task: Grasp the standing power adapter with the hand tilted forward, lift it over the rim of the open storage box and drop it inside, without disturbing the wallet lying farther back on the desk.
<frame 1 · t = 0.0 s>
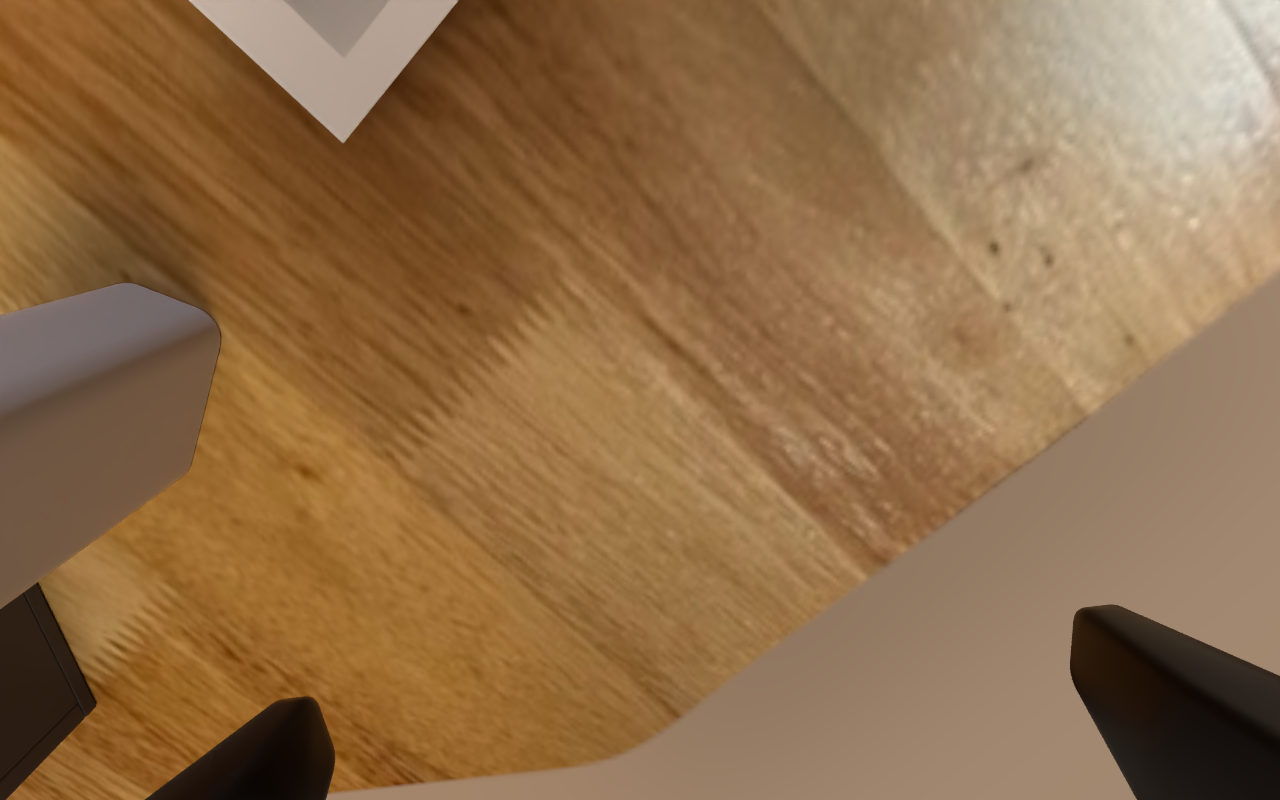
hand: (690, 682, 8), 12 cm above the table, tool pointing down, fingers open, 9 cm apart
power adapter: (153, 383, 20), on the table
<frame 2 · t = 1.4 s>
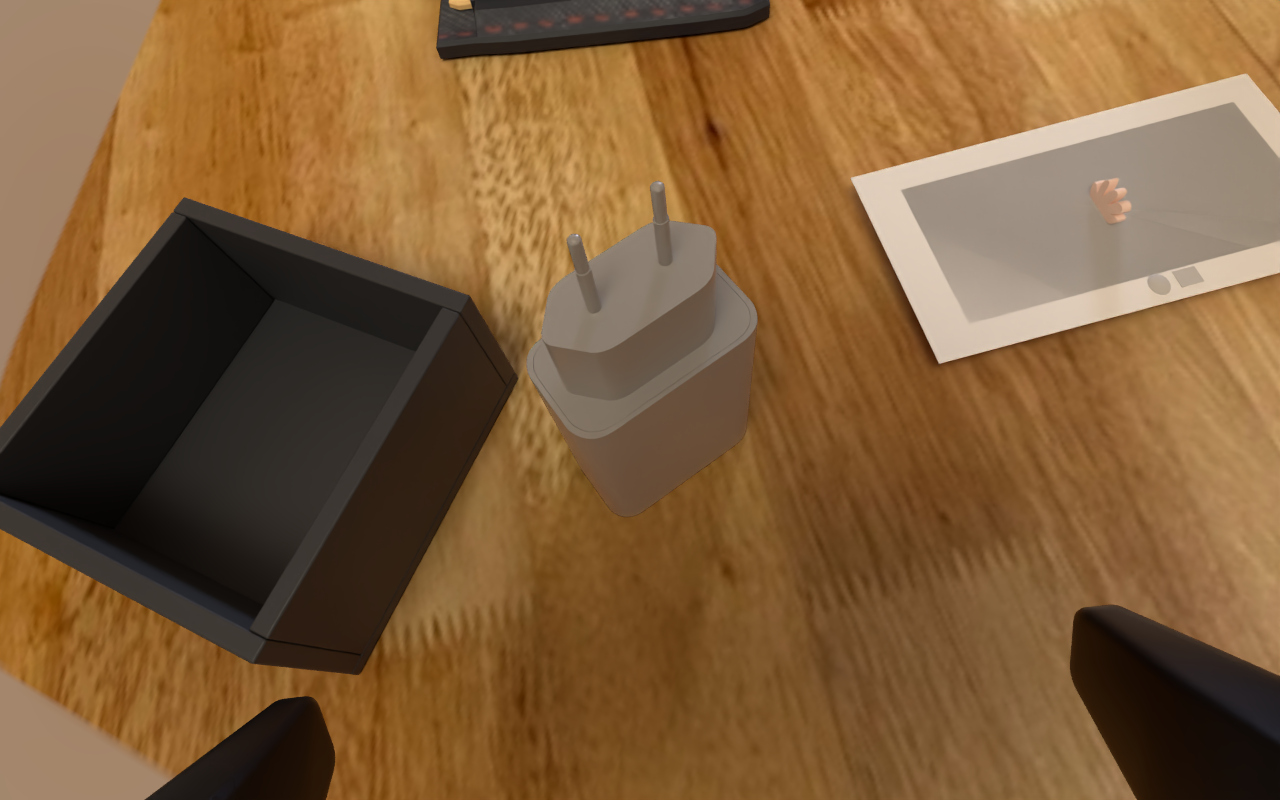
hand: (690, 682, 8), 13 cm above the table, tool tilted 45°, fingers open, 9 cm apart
open storage box: (314, 458, 25), on the table
power adapter: (662, 443, 24), on the table
touchpad: (1085, 231, 26), on the table
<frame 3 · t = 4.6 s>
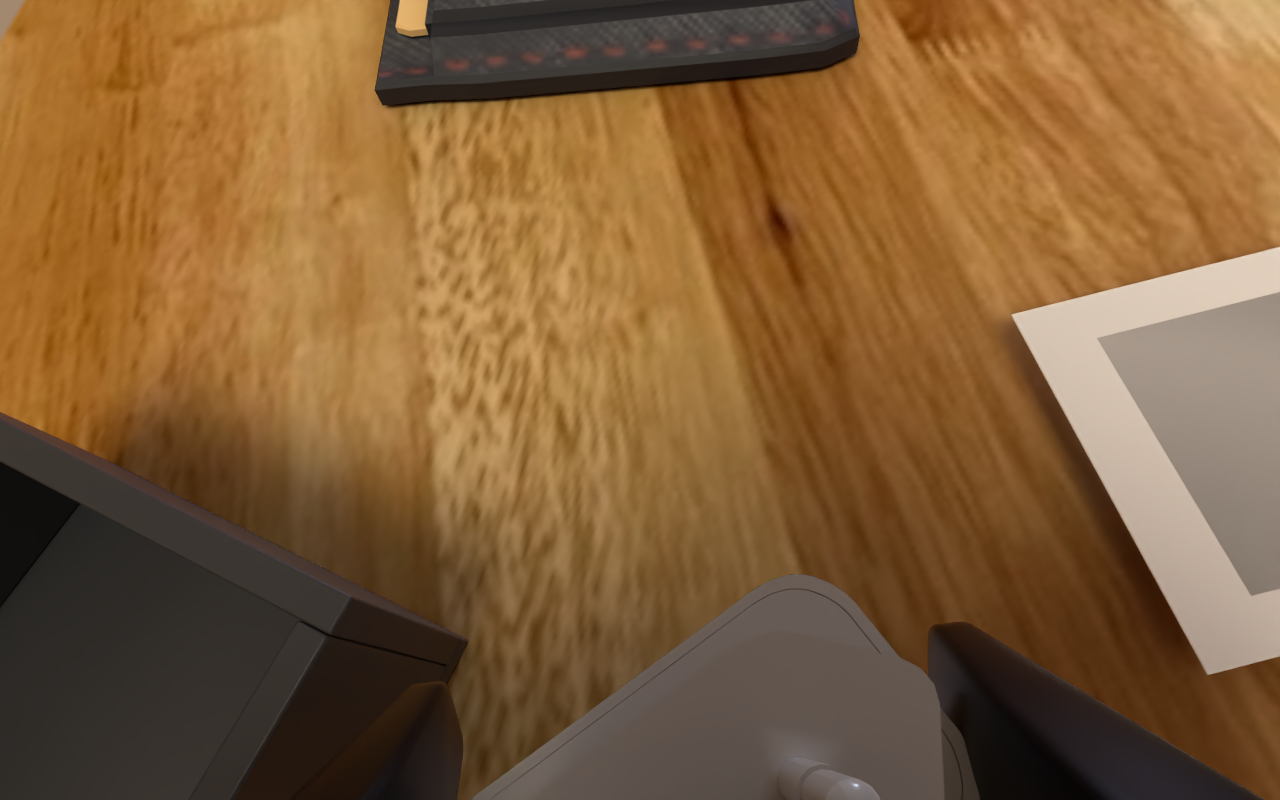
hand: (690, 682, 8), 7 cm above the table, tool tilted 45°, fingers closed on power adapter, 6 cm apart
open storage box: (122, 779, 15), on the table
power adapter: (709, 781, 14), on the table, touching gripper
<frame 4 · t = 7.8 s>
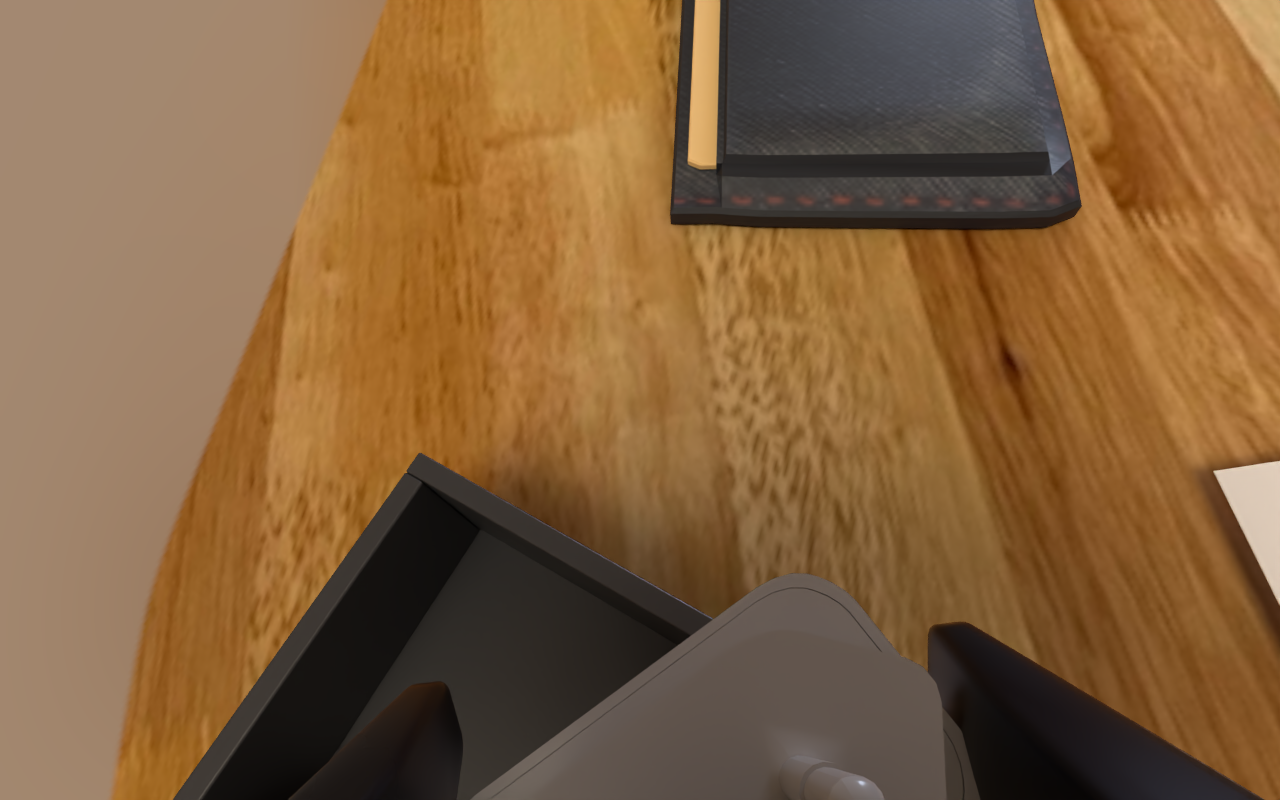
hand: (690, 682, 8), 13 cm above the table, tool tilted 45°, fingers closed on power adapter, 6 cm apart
open storage box: (525, 757, 20), on the table
wallet: (850, 43, 31), on the table
power adapter: (709, 780, 14), point 7 cm above the table, touching gripper
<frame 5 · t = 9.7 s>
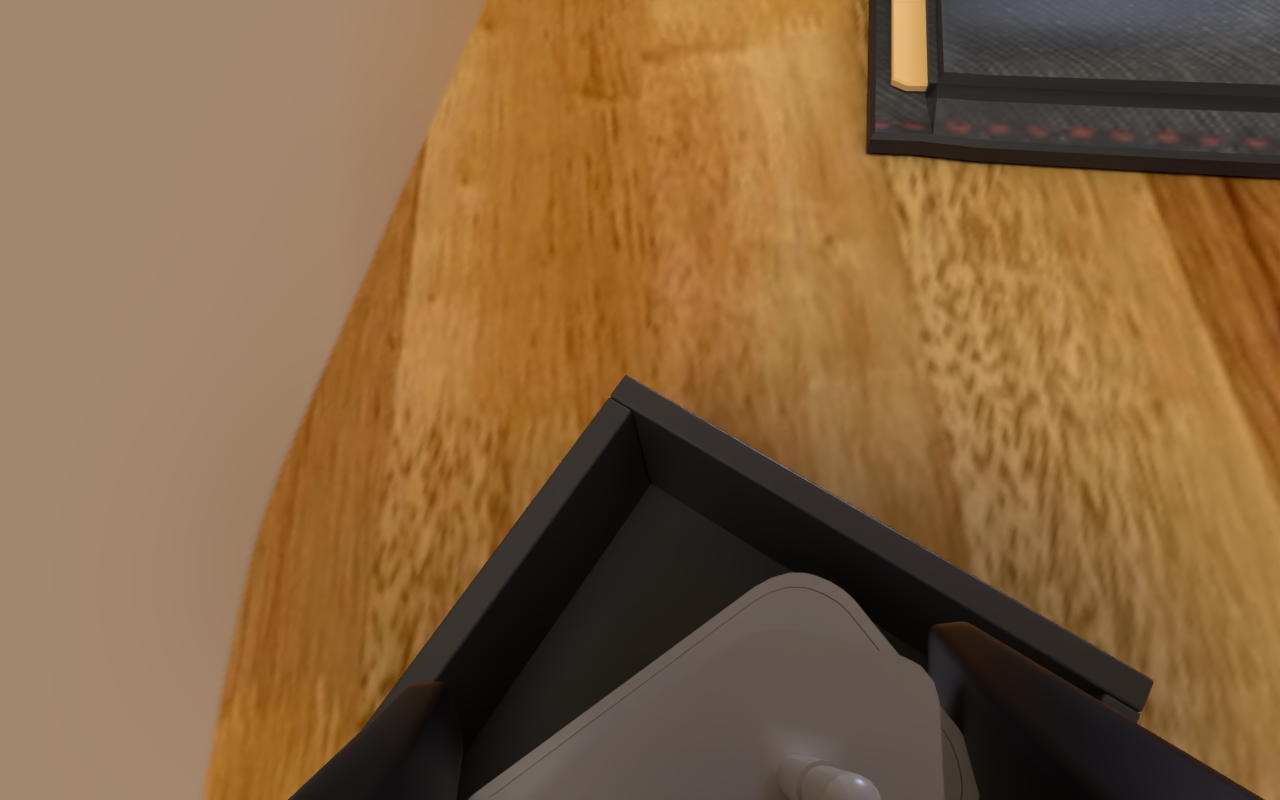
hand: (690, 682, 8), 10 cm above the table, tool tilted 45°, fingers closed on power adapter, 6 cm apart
open storage box: (707, 758, 17), on the table
power adapter: (708, 780, 14), point 3 cm above the table, touching gripper
when the fingers open (7 cm above the table, at t = 11.0 s): power adapter stays where it is, resting on open storage box.
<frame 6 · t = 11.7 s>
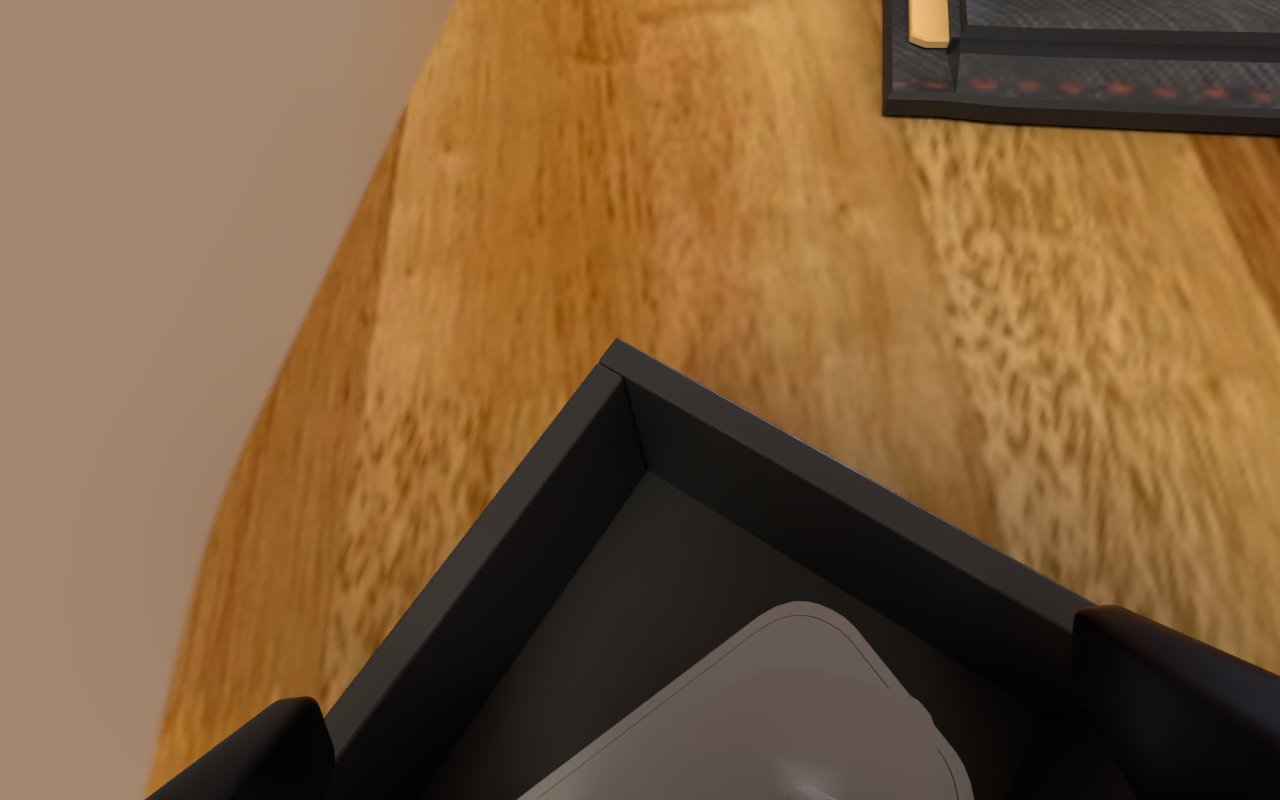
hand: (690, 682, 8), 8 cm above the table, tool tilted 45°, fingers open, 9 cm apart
open storage box: (711, 781, 15), on the table
power adapter: (713, 792, 14), resting on open storage box
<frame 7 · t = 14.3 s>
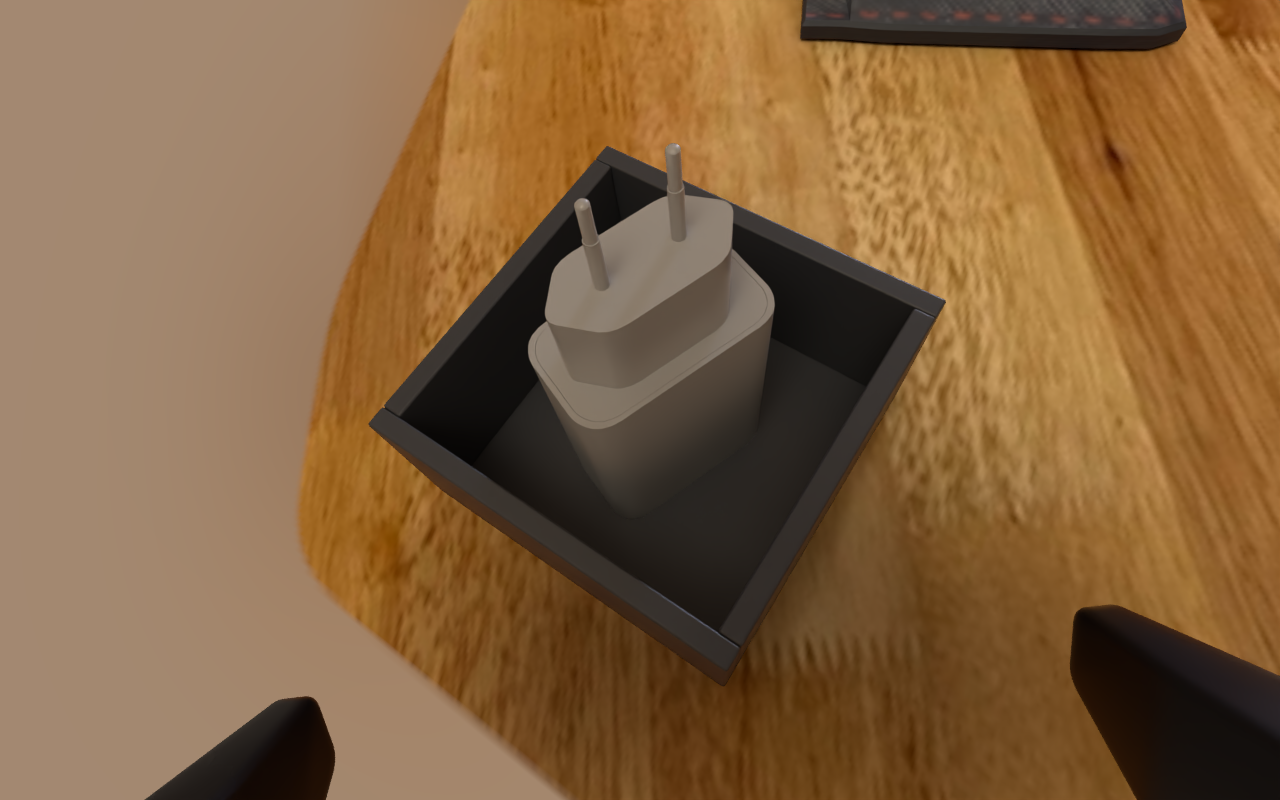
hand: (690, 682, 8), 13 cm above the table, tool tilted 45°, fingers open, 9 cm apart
open storage box: (668, 441, 23), on the table
power adapter: (669, 442, 23), resting on open storage box
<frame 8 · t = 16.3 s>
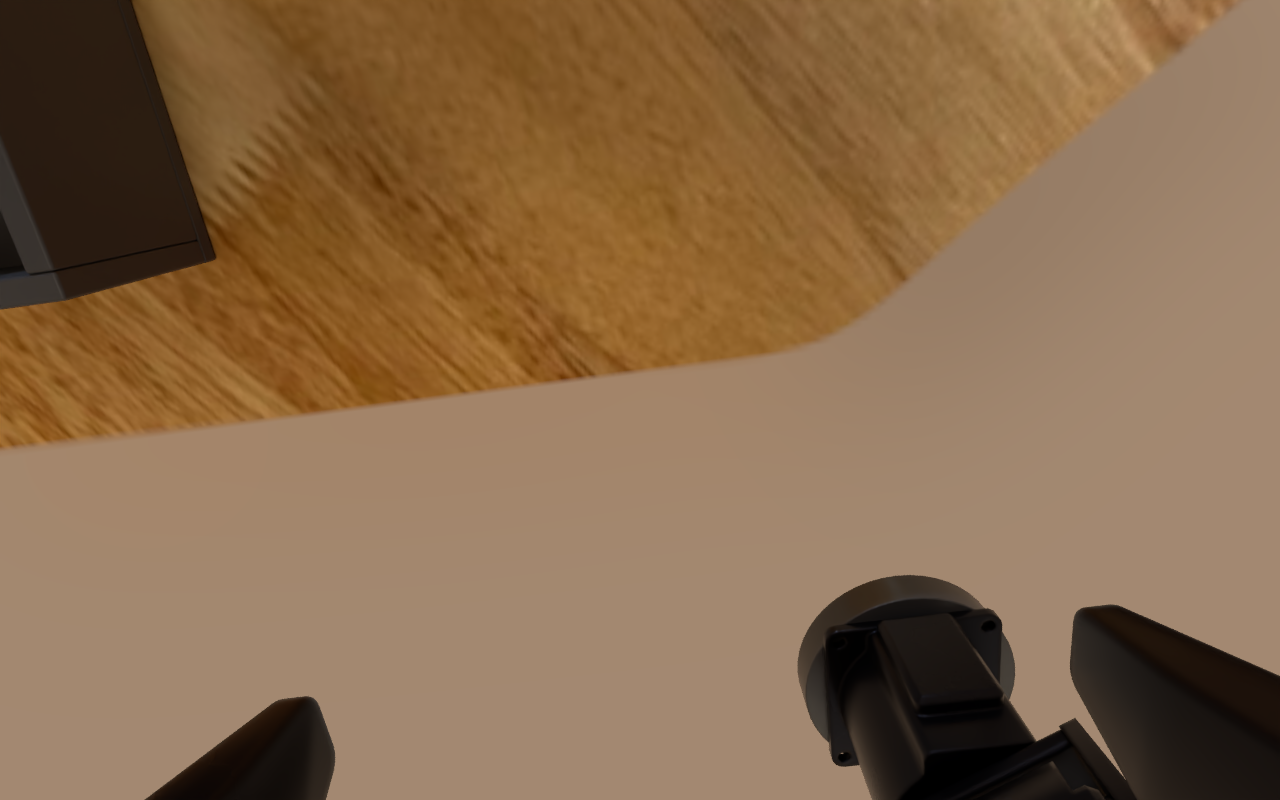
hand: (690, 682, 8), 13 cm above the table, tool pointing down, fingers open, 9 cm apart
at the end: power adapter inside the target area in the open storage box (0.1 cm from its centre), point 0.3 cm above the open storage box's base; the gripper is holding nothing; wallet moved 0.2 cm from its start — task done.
